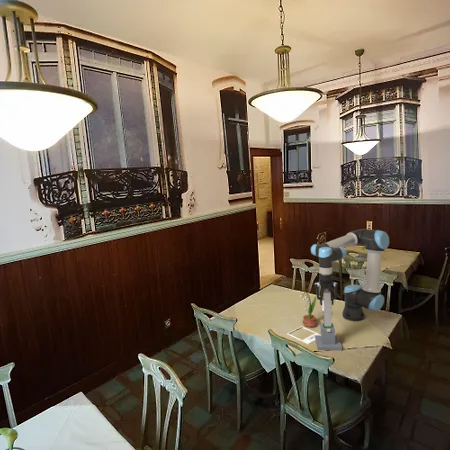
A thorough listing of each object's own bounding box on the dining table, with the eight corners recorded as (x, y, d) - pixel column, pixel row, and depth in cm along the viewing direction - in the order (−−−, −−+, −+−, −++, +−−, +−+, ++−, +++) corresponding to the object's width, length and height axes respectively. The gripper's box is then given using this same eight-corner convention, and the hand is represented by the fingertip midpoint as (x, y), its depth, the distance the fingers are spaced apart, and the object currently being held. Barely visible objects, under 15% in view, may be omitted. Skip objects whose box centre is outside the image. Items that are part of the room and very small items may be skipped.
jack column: (330, 327, 199) (329, 288, 195) (331, 330, 195) (330, 291, 191) (323, 327, 200) (322, 288, 196) (324, 330, 196) (323, 291, 192)
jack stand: (337, 338, 205) (337, 320, 203) (342, 350, 191) (341, 331, 189) (315, 338, 207) (314, 320, 205) (317, 350, 193) (317, 331, 192)
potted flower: (304, 330, 219) (303, 295, 215) (297, 323, 228) (296, 290, 224) (320, 326, 222) (319, 292, 218) (312, 320, 231) (311, 287, 227)
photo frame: (308, 343, 200) (287, 333, 215) (308, 345, 201) (287, 334, 215) (323, 335, 209) (301, 325, 223) (323, 336, 209) (301, 327, 224)
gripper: (339, 270, 194) (340, 307, 198) (310, 271, 197) (311, 307, 201) (342, 274, 187) (342, 312, 191) (311, 275, 190) (313, 312, 193)
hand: (326, 309), depth 196 cm, fingers closed on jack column, 4 cm apart
